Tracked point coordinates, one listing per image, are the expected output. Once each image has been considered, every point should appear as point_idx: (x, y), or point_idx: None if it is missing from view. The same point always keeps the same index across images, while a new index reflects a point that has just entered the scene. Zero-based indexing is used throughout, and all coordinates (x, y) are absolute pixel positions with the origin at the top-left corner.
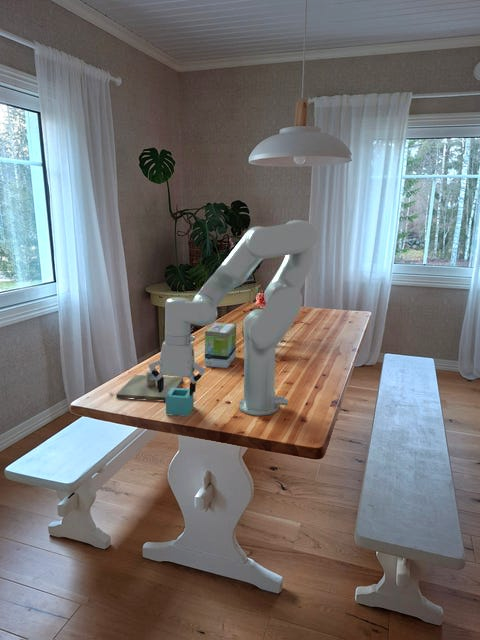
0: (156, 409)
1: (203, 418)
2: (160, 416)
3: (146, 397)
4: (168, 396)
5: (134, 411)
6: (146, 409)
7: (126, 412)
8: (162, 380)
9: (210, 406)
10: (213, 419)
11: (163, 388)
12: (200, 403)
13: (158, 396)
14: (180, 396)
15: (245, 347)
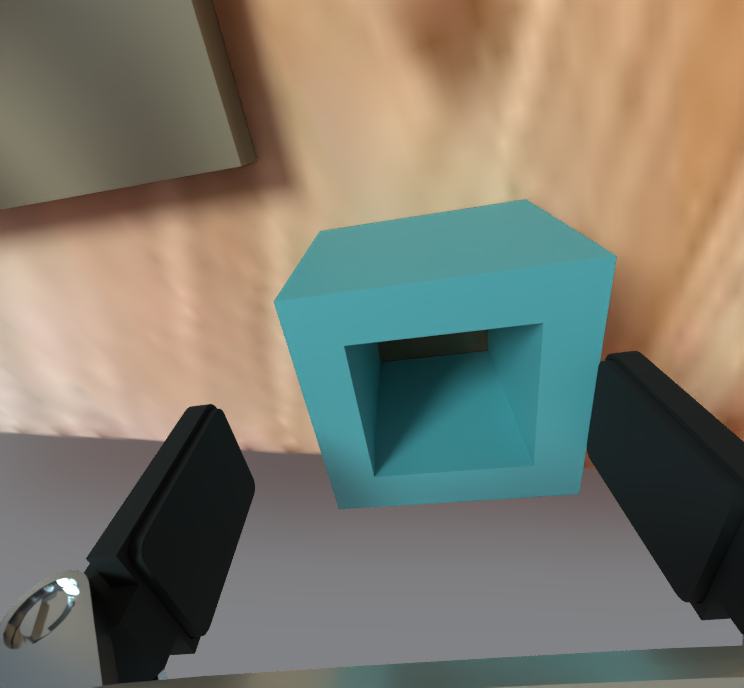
0: (244, 333)
1: None
2: None
3: (21, 204)
4: (365, 502)
5: (132, 393)
6: (179, 350)
7: (101, 414)
8: (181, 577)
9: (708, 135)
10: (718, 369)
11: (219, 416)
12: (588, 89)
13: (118, 176)
14: (486, 482)
15: None
